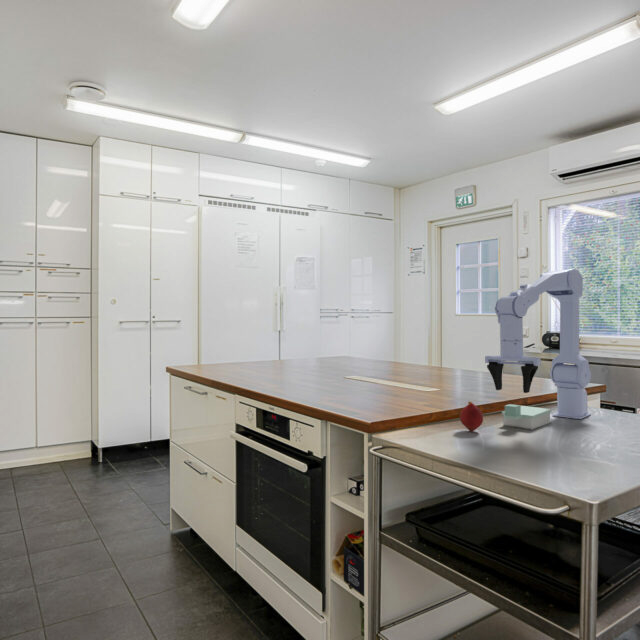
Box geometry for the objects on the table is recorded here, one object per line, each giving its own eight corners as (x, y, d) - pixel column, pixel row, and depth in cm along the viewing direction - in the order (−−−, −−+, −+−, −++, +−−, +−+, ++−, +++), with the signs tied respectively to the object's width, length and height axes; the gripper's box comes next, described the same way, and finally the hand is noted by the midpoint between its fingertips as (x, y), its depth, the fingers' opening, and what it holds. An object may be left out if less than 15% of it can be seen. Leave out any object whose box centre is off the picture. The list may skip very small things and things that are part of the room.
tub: (522, 418, 145) (522, 408, 145) (550, 422, 139) (550, 412, 139) (503, 425, 136) (503, 414, 136) (532, 429, 131) (531, 418, 131)
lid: (521, 411, 145) (521, 396, 145) (551, 415, 139) (551, 400, 139) (494, 420, 133) (494, 404, 133) (525, 425, 127) (525, 408, 127)
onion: (480, 428, 133) (479, 399, 133) (485, 433, 127) (484, 403, 127) (458, 428, 133) (458, 399, 133) (462, 433, 128) (462, 403, 128)
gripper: (479, 340, 134) (480, 390, 134) (532, 341, 124) (533, 395, 124) (491, 339, 139) (492, 387, 139) (543, 340, 128) (544, 392, 128)
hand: (512, 391), depth 132 cm, fingers open, 7 cm apart
